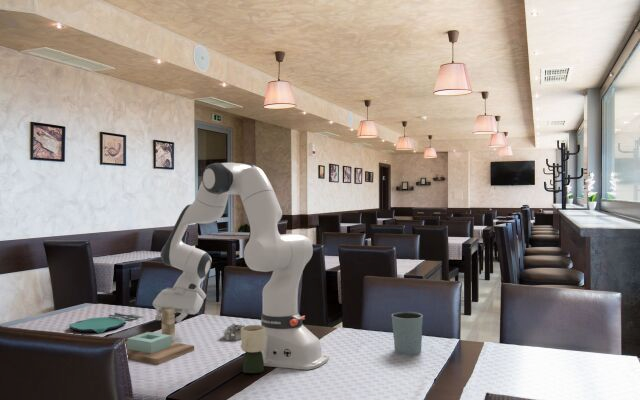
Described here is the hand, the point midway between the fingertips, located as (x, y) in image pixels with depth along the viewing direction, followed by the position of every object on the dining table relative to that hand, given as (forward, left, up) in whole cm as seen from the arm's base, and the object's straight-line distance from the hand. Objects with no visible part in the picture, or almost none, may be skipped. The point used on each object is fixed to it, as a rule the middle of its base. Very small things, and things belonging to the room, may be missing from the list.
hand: (167, 320), depth 190 cm
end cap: (-8, +16, -4) cm, 19 cm away
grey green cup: (-84, -22, -6) cm, 87 cm away
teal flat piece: (+35, -3, -7) cm, 36 cm away
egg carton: (-22, -12, -6) cm, 26 cm away
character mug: (-50, +17, -6) cm, 53 cm away
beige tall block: (0, -1, -6) cm, 6 cm away
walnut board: (-8, +16, -6) cm, 19 cm away
